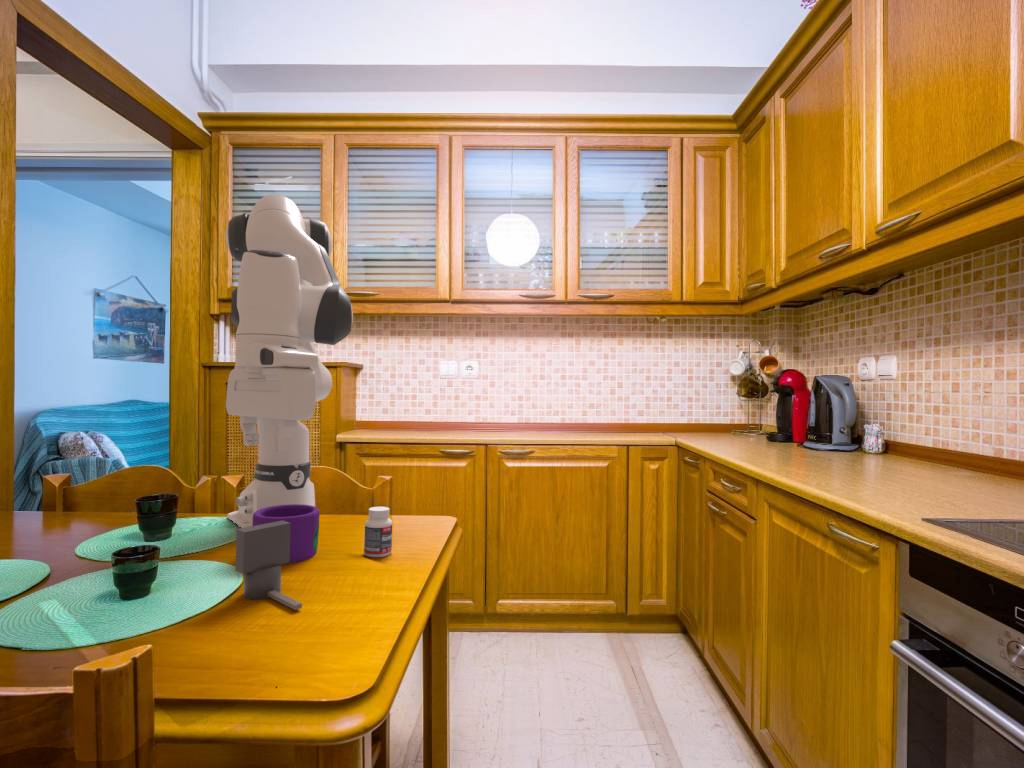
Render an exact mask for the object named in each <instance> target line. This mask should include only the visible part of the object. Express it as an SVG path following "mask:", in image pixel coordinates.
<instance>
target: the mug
mask: <svg viewBox="0 0 1024 768" xmlns="http://www.w3.org/2000/svg"><path fill="white" fill-rule="evenodd" d="M320 515H321V514H320V509H319V507H317V506H316V505H315V506H311V505H302V504H288V505H277V506H271V507H266V508H262V509H260V510H257V511H256V512H254V514H253V525H252V526H256V525H261V524H266V523H272V522H277V521H282V520H283V521H286V522H289V523H291V525H290V562H288V563H284V564H283V565H286V564H287V565H288V564H294V563H299V562H302V561H307V560H309V559H311V558H313V557H315V556H316V554H317V552H318V551H317V550H318V546H319V535H320V534H319V533H320V532H319V531H320Z"/></svg>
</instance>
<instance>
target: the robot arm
mask: <svg viewBox="0 0 1024 768" xmlns="http://www.w3.org/2000/svg"><path fill="white" fill-rule="evenodd" d="M224 236H225V237H224V238H225V243H226V247H227V248H228V250H229V253H230V256H232V257H233V259H234V260H236V261H238V262H240V266H239V267H240V268H239V273H238V280H237V287H235V288H234V289H233V290H232V291H231V302H230V303H231V308H230V322H231V323H232V324H233V325H234V326H235V327H236V332H235V361H234V362H235V365H234V367H233V368H234V369H233V368H232V369H231V371H230V373H229V375H228V380H227V388H226V397H225V398H226V399H225V409H226V412H227V415H229V416H238V417H239V426H240V429H241V431H242V434H243V445H244V446H246V447H256V446H258V463H257V464H255V465H253V466H254V467H255V468H254V475H253V478H254V479H253V480H252V481H251V482H250V483H249V484H248V485H247V486H246V488H244V489H243V490H242V491H241V492H240V494H239V496H238V497H236V501H235V502H236V504H235V505H236V507H238V509H237V510H234V511H232V512H229V513H227V518H228V520H229V521H231V520H232V521H233V522H232V521H231V522H232V523H234V524H235V523H236V524H237V525H238V526H237V525H236V524H235V525H236V526H237V527H239V528H240V527H241V528H246V527H251V526H252V525H253V514H254V512H256V511H257V510H260V509H262V508H266V507H271V506H277V505H288V504H302V505H311V506H315V507H316V498H315V497H316V495H315V485H314V484H315V483H313V482H312V481H311V480H310V477H311V475H312V473H311V471H312V466H311V461H310V430H309V428H308V426H306V424H304V423H303V422H301V421H306V420H307V421H308V420H311V419H312V417H313V416H314V413H315V412H316V403H317V402H319V401H322V400H324V399H326V398H327V397H328V396H329V394H330V392H331V391H332V387H333V378H332V374H331V372H330V370H329V369H328V367H326V366H325V365H324V364H323V363H322V361H321V359H320V357H319V355H318V353H317V351H316V349H315V348H316V347H315V345H314V343H316V344H322V345H323V344H324V345H330V346H335V345H337V344H338V343H340V342H342V341H343V340H344V339H345V338H346V337H348V335H350V334H351V331H352V327H353V322H354V312H353V311H354V310H353V305H352V303H351V300H350V297H349V296H348V294H347V292H346V291H345V290H344V288H343V287H342V284H341V283H340V279H339V277H338V275H337V272H336V270H335V267H334V266H333V263H332V261H331V259H330V256H331V254H332V251H333V237H332V234H331V233H330V230H329V227H328V226H327V224H326V222H324V221H320V220H317V219H314V218H310V219H307V218H304V217H303V215H302V212H301V210H300V209H299V206H297V204H296V203H295V202H294V201H293V200H291V198H289V197H286V196H284V195H280V194H268V195H265V196H263V197H261V198H260V199H259V200H258V201H257V202H256V203H255V204H254V206H253V208H252V209H251V211H250V213H246V212H245V213H242V214H238V215H234V216H232V218H231V219H230V220H229V221H228V224H227V227H226V229H225V235H224ZM308 283H310V284H311V285H309V284H308Z"/></svg>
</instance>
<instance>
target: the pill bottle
mask: <svg viewBox="0 0 1024 768" xmlns="http://www.w3.org/2000/svg"><path fill="white" fill-rule="evenodd" d="M368 517H369V519H366V521H365V524H364V540H363V541H364V544H363V545H364V546H363V554H364V556H366V557H369V558H375V559H376V558H384V557H387V556H389V555H391V554H392V551H393V547H392V546H393V543H392V542H393V541H392V539H393V521H392V519H391V518H389V517H390V508H389V507H387V506H372V507H369V508H368Z"/></svg>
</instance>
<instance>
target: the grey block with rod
mask: <svg viewBox="0 0 1024 768" xmlns="http://www.w3.org/2000/svg"><path fill="white" fill-rule="evenodd" d="M290 525H291V523H289V522H286V521H283V520H282V521H277V522H272V523H266V524H261V525H256V526H251V527H246V528H240V527H239V528H236V535H235V536H236V537H235V538H236V543H235V545H236V547H235V571H236V572H238V573H241V574H242V575H244V578H243V579H244V580H243V597H244V598H246V599H248V600H264V599H268V598H270V599H273V600H275V601H277V602H278V603H280V604H282V605H284V606H286V607H288V608H291V609H292V610H294V611H297V610H299V609H302V608H303V603H301V602H300V601H298V600H295V599H294V598H291V597H290V596H287V595H286V594H284V593H281V591H282V589H281V588H282V585H281V584H282V565H285V564H284V563H288V562H290Z"/></svg>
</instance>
